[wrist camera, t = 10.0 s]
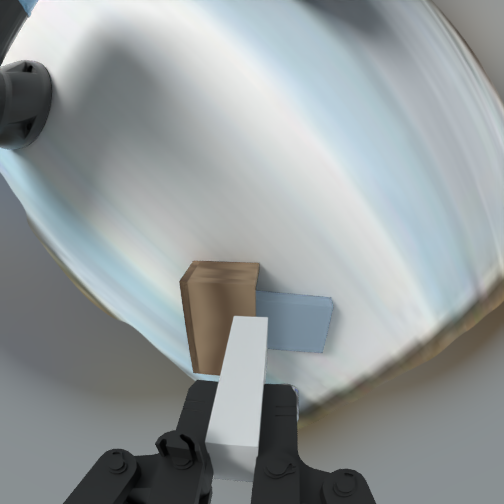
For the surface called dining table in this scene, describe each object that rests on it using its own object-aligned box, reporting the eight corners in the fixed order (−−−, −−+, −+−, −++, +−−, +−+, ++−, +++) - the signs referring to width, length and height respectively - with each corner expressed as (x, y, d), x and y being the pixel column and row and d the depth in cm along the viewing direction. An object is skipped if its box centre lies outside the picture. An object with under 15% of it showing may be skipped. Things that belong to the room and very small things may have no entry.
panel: (223, 331, 47) (219, 342, 44) (224, 285, 44) (220, 296, 41) (320, 340, 46) (322, 352, 43) (330, 295, 43) (333, 306, 40)
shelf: (203, 346, 48) (193, 372, 42) (193, 260, 42) (179, 281, 36) (259, 350, 47) (255, 378, 41) (259, 263, 41) (254, 284, 35)
